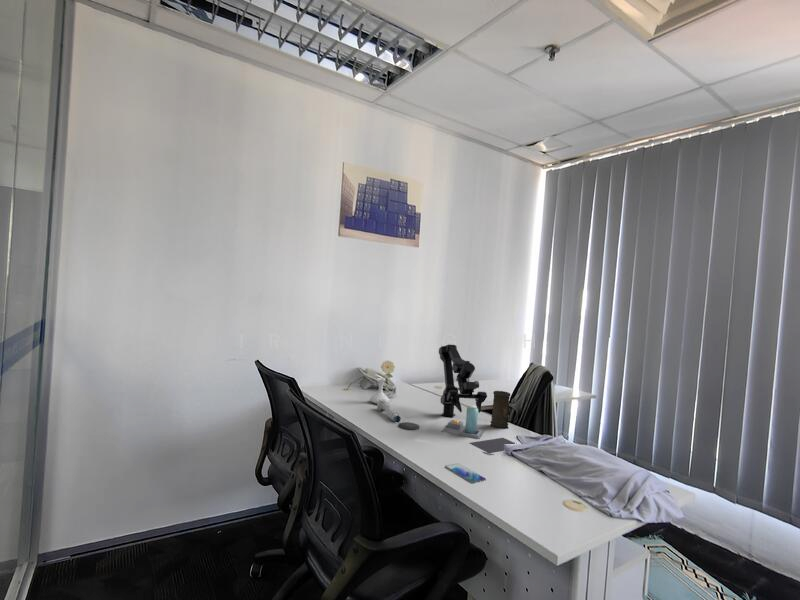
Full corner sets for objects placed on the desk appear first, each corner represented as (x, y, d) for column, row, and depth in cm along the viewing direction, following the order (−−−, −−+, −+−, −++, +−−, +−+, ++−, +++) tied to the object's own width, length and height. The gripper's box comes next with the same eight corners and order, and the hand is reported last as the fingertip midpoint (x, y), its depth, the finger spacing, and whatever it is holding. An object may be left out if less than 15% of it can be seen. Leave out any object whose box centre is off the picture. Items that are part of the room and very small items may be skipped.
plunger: (453, 424, 206) (453, 419, 206) (459, 425, 205) (459, 420, 205) (451, 426, 203) (451, 421, 203) (457, 427, 202) (458, 422, 202)
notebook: (502, 440, 193) (467, 446, 181) (503, 437, 193) (468, 442, 181) (524, 450, 182) (488, 457, 170) (524, 446, 182) (488, 453, 170)
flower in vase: (367, 404, 236) (371, 360, 236) (372, 399, 248) (375, 357, 247) (390, 406, 234) (393, 362, 234) (393, 402, 245) (397, 359, 245)
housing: (449, 425, 209) (449, 419, 209) (485, 432, 202) (485, 425, 202) (440, 433, 194) (440, 427, 194) (479, 441, 187) (479, 434, 187)
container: (488, 428, 208) (491, 392, 208) (491, 424, 216) (494, 389, 216) (506, 432, 205) (509, 395, 205) (509, 427, 213) (512, 392, 213)
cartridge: (466, 431, 197) (468, 404, 197) (477, 433, 195) (479, 405, 195) (463, 434, 192) (466, 406, 192) (475, 436, 190) (477, 408, 190)
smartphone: (458, 463, 159) (487, 479, 147) (458, 465, 159) (486, 481, 147) (444, 465, 155) (472, 482, 143) (443, 467, 155) (471, 484, 143)
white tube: (392, 415, 204) (376, 396, 227) (390, 428, 205) (375, 407, 228) (402, 415, 206) (385, 395, 229) (400, 428, 207) (384, 407, 230)
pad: (402, 422, 207) (402, 421, 207) (422, 426, 203) (422, 424, 203) (395, 427, 198) (395, 426, 198) (415, 431, 194) (415, 430, 194)
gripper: (450, 373, 199) (456, 402, 188) (487, 375, 203) (495, 403, 192) (444, 386, 207) (449, 415, 196) (479, 388, 211) (486, 416, 200)
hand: (470, 412), depth 196 cm, fingers open, 9 cm apart
